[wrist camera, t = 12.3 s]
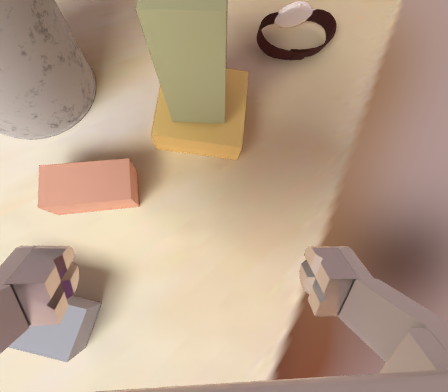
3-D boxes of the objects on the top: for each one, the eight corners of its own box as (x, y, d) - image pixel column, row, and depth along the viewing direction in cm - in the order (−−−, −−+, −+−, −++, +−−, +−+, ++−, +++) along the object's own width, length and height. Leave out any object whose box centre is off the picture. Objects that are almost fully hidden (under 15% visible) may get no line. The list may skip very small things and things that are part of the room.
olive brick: (172, 121, 20) (135, 8, 12) (176, 78, 22) (146, -54, 13) (224, 123, 20) (226, 11, 12) (226, 79, 21) (228, -51, 13)
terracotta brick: (59, 215, 21) (38, 207, 18) (60, 178, 21) (39, 165, 18) (139, 207, 21) (131, 198, 19) (137, 171, 22) (129, 158, 19)
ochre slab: (156, 150, 23) (151, 134, 20) (168, 81, 25) (165, 57, 22) (236, 161, 24) (242, 147, 21) (242, 93, 25) (248, 71, 22)
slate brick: (1, 324, 18) (-35, 336, 16) (21, 281, 19) (-10, 284, 16) (86, 346, 19) (67, 362, 16) (102, 302, 19) (86, 309, 17)
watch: (318, 22, 28) (336, -12, 25) (332, 60, 27) (353, 30, 24) (249, 29, 27) (257, -6, 23) (260, 68, 26) (271, 38, 22)
